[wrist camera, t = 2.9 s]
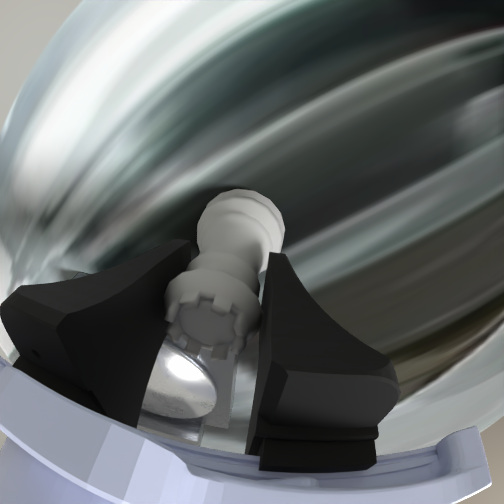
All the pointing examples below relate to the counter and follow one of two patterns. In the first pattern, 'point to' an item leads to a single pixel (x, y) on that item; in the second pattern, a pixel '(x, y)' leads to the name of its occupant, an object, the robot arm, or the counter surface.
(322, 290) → the counter surface
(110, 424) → the robot arm
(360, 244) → the counter surface
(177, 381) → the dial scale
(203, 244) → the rook chess piece
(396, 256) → the counter surface
